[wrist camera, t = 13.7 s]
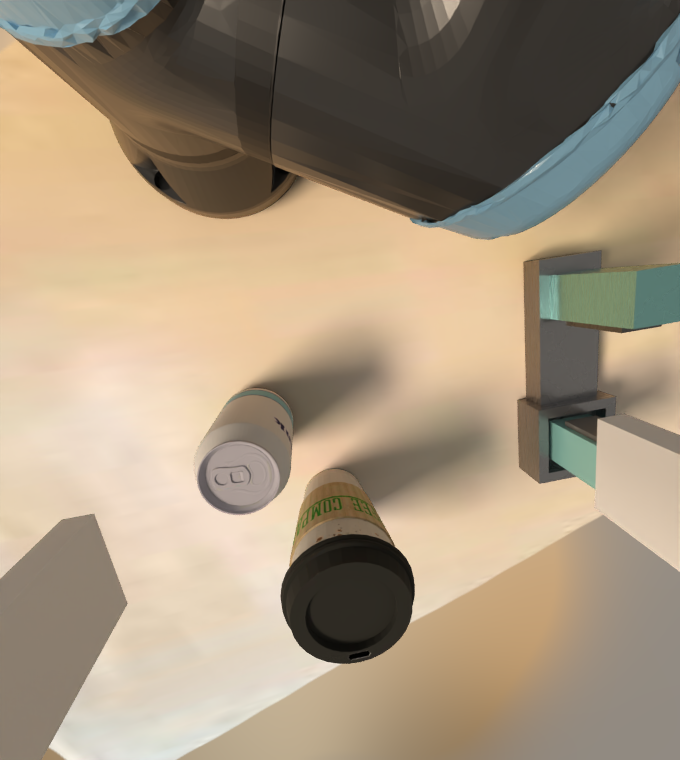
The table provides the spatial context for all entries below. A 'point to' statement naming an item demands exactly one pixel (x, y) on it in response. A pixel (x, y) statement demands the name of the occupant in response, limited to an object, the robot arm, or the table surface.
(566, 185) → the robot arm
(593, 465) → the block
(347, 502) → the coffee cup
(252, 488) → the beverage can
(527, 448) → the grey and teal stand
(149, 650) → the table surface
